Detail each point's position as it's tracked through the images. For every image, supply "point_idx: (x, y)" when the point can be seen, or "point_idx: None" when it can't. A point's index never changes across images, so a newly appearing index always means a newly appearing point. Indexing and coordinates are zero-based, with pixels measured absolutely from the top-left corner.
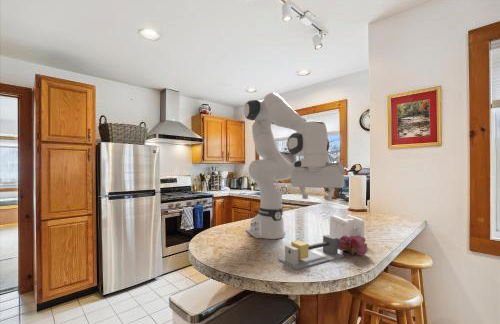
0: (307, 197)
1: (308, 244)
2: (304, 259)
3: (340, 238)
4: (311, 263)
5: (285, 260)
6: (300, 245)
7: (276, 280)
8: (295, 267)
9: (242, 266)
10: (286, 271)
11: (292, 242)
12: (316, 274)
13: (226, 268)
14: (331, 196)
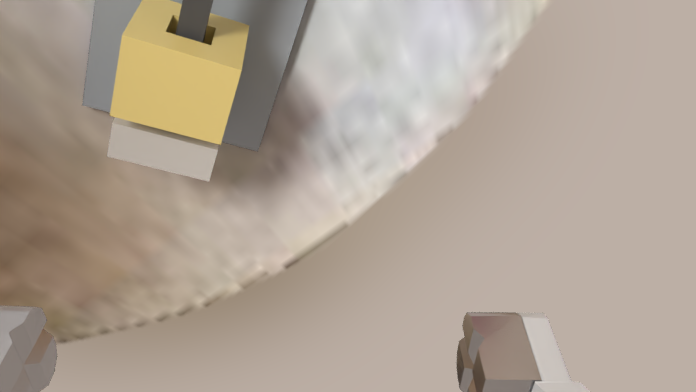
0: (31, 326)
1: (241, 69)
2: (213, 2)
3: None
4: (286, 34)
5: None
6: (217, 142)
7: (253, 276)
8: (246, 148)
9: (38, 274)
10: (228, 189)
11: (125, 119)
12: (366, 123)
13: None
14: (562, 365)
